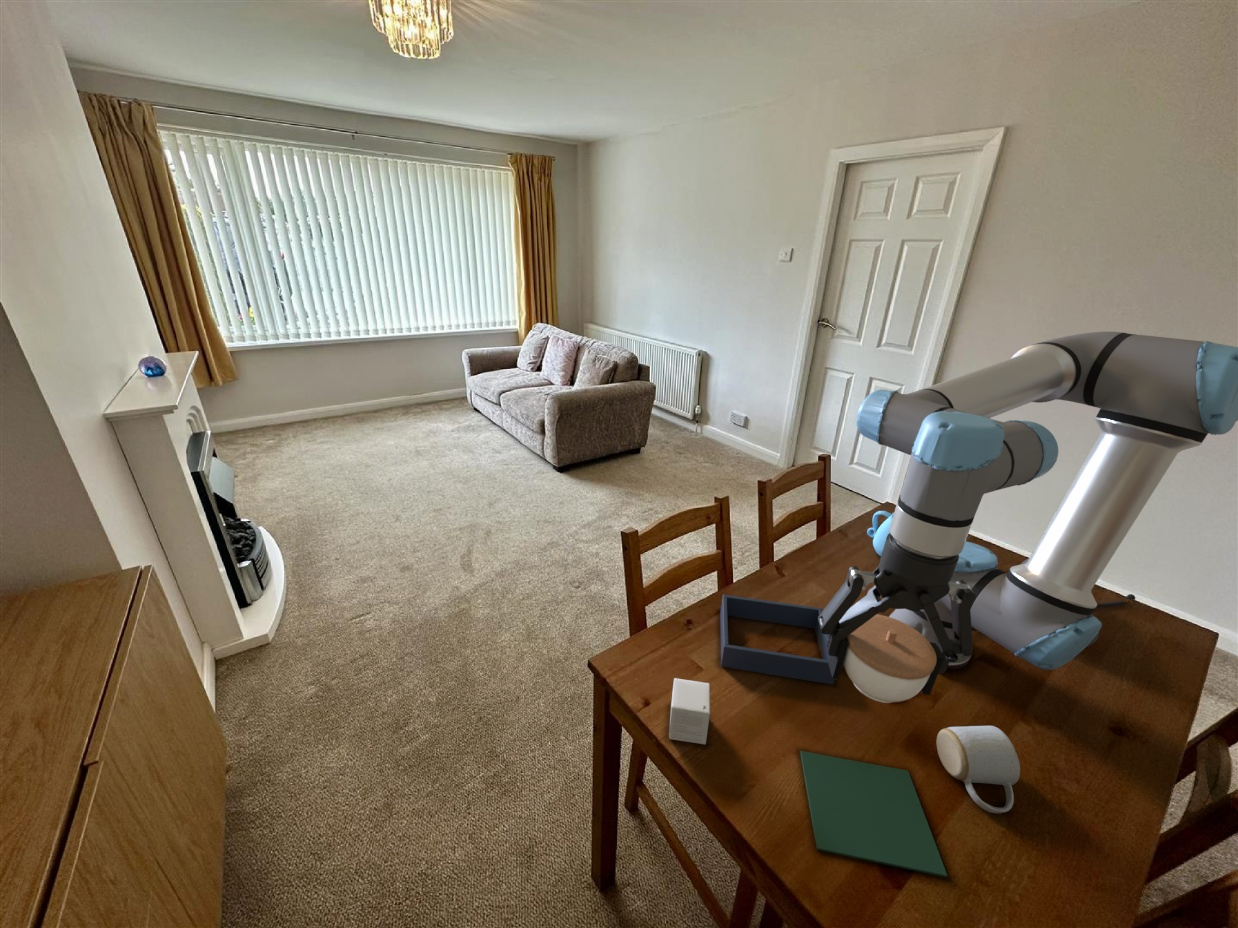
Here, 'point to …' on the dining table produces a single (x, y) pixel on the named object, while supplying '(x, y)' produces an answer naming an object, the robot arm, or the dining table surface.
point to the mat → (869, 813)
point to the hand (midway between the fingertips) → (877, 678)
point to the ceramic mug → (980, 760)
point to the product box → (690, 711)
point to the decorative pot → (880, 531)
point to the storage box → (767, 659)
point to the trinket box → (888, 660)
